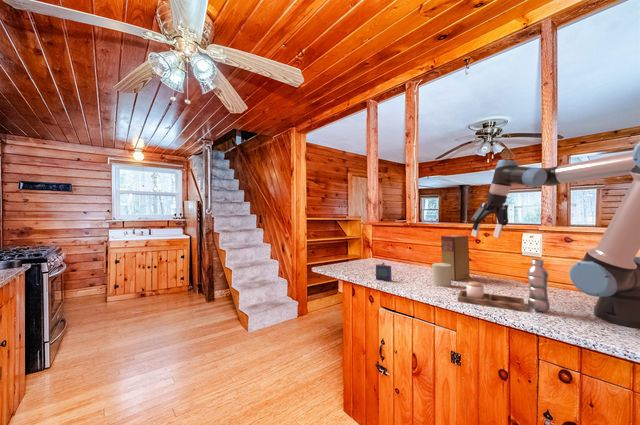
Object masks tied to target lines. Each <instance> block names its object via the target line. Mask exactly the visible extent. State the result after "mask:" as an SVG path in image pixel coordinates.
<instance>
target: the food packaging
mask: <svg viewBox="0 0 640 425" xmlns="http://www.w3.org/2000/svg"><path fill="white" fill-rule="evenodd" d="M440 237H441V238H440V239H441V241H440V242H441V245H440V246H441V247H440V248H441V263H447V264H450V265H451V281H454V282H457V281H463V280H468V279H470V278H471V277H470V276H471V275H470V250H469V248H470V247H469V235H466V234H465V235H462V234H450V235H441V236H440Z"/></svg>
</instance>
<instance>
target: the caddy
mask: <svg viewBox="0 0 640 425" xmlns="http://www.w3.org/2000/svg"><path fill="white" fill-rule="evenodd" d="M457 302H458V303H466V304H472V305H479V306H486V307H492V308H496V309H497V308H498V309H505V310H510V311H511V310H513V311H517V312H527V311H526V310H527V309H526V303H525V299H524V298H523V297H516V296H509V295H500V294H493V293H486V292H484V300H482V299H475V298H468V297H467V290H462V289H461V290H460V292H459V294H458V295H457Z"/></svg>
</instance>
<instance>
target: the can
mask: <svg viewBox="0 0 640 425" xmlns="http://www.w3.org/2000/svg"><path fill="white" fill-rule="evenodd" d="M431 268H432V270H431V271H432V286H436V287H442V288H447V287H448V288H449V287H451V286H452V280H451V265H450V264H447V263H442V262H435V263H432V264H431Z"/></svg>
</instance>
